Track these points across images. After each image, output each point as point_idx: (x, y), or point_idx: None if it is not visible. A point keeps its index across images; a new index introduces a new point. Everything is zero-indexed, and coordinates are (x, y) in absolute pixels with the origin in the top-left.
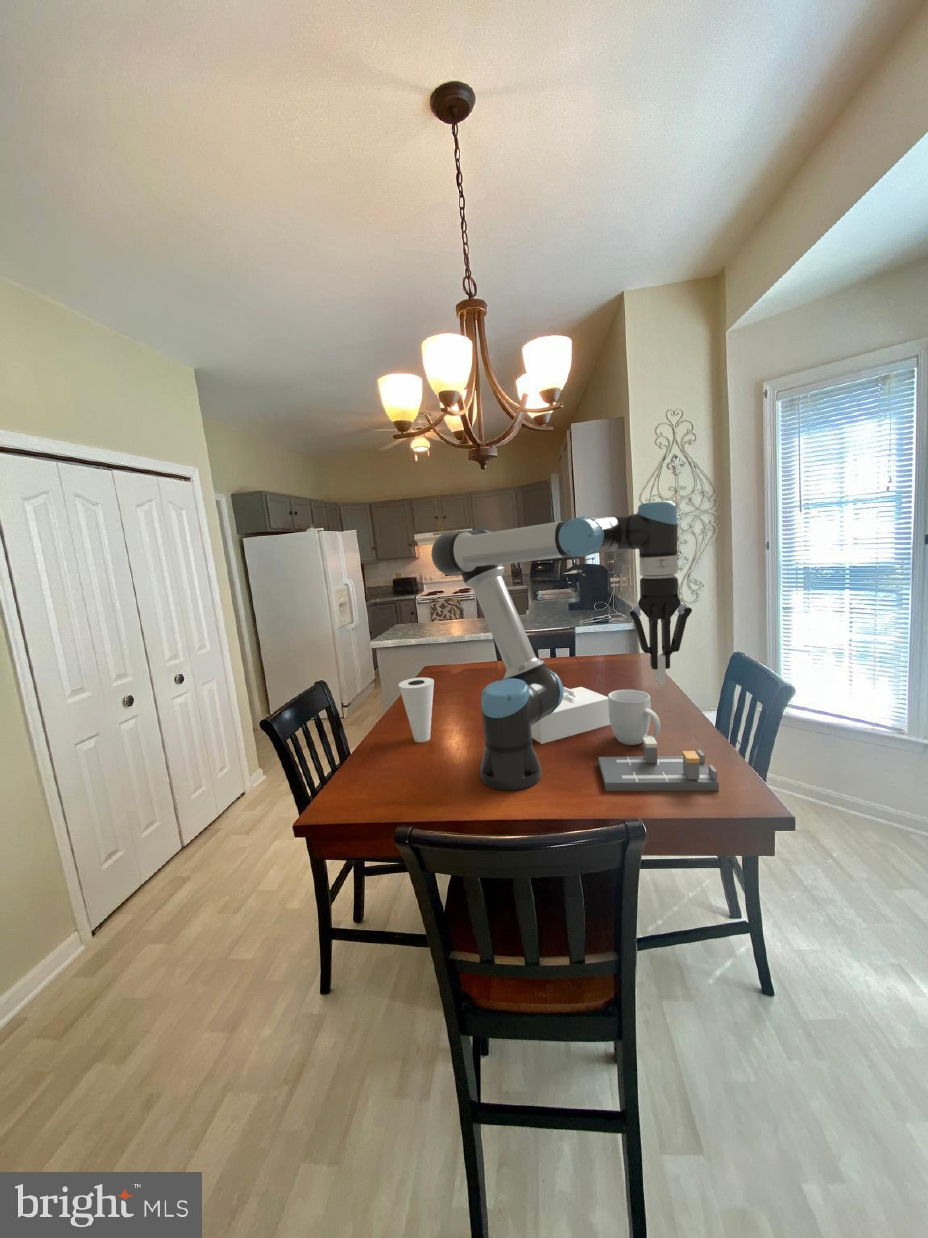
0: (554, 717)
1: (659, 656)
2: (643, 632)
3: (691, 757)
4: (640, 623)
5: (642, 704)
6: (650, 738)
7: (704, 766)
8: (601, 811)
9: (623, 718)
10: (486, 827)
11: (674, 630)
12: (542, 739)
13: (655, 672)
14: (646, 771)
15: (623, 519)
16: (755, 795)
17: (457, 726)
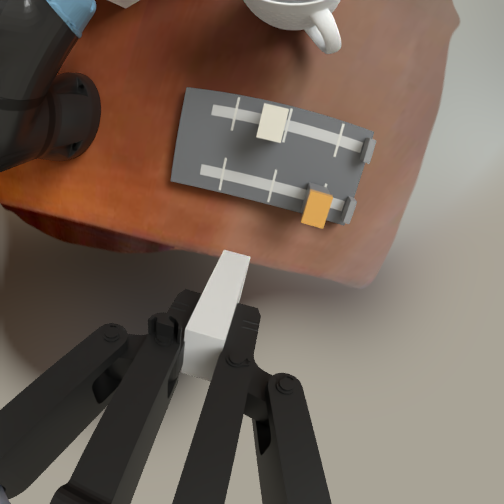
0: None
1: (188, 373)
2: (64, 444)
3: (311, 220)
4: (30, 475)
5: (307, 8)
6: (278, 114)
7: (357, 171)
8: (158, 226)
9: (257, 12)
10: (53, 228)
11: (283, 487)
12: (123, 5)
13: (214, 270)
14: (249, 159)
15: None
16: (378, 244)
17: None
